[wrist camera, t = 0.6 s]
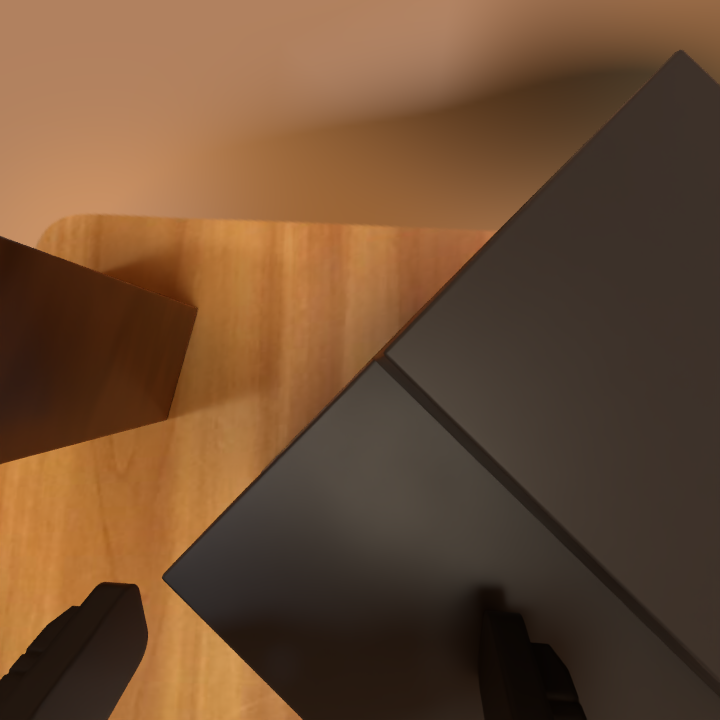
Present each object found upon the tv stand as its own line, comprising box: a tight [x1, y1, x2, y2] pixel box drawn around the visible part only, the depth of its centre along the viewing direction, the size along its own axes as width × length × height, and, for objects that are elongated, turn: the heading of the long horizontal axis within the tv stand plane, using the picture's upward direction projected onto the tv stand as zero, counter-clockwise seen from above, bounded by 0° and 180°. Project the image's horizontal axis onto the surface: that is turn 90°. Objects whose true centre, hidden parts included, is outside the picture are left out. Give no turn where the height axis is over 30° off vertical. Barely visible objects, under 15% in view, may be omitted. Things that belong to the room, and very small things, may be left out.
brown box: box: [0, 236, 198, 464], centre depth 21 cm, size 8×8×19 cm
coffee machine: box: [162, 50, 720, 720], centre depth 18 cm, size 16×12×24 cm
